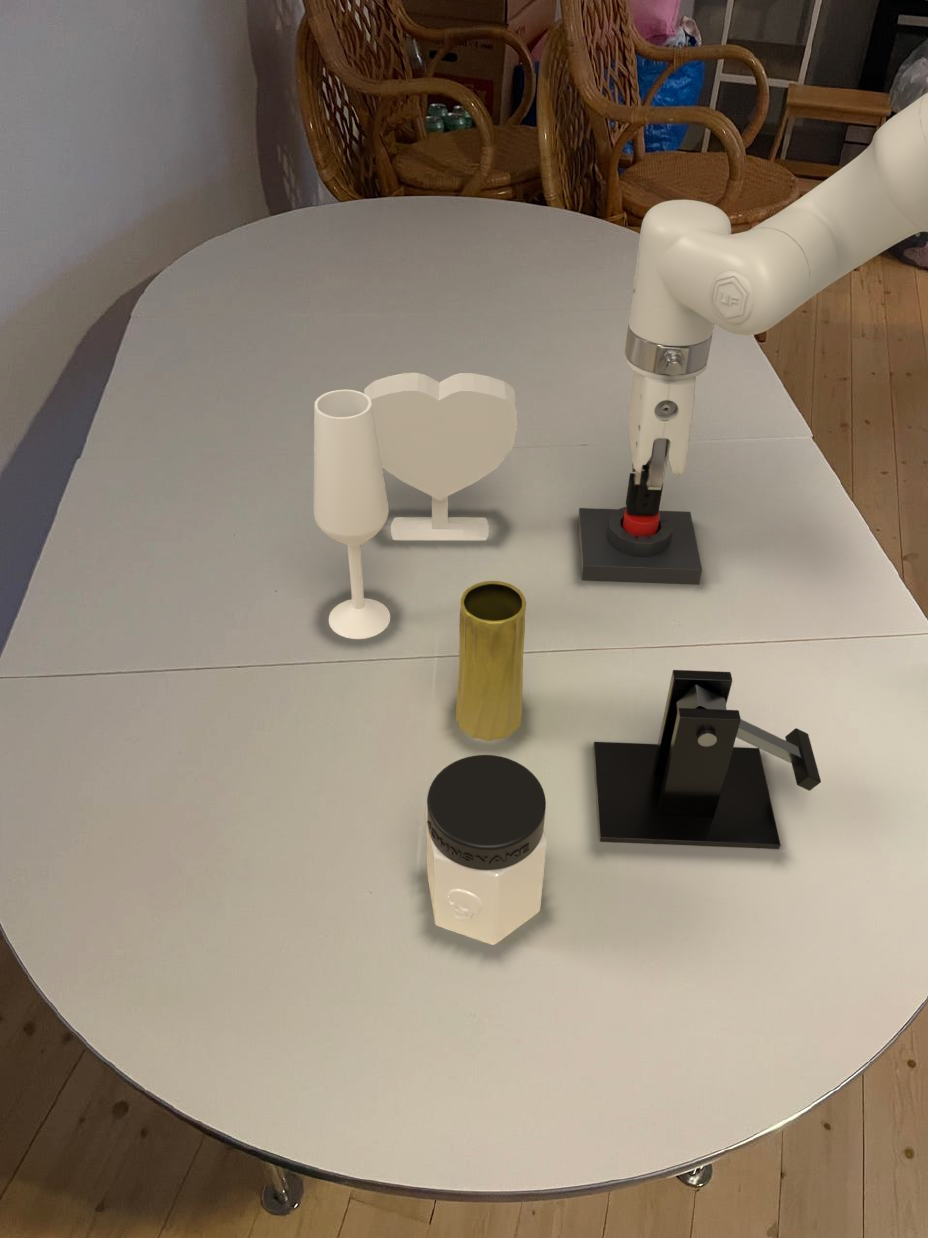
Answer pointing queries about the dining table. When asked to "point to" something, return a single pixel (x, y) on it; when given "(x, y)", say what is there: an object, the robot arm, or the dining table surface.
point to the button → (641, 524)
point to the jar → (485, 846)
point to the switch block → (637, 549)
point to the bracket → (686, 779)
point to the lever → (764, 738)
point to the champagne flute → (350, 498)
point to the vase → (491, 660)
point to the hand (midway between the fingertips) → (641, 510)
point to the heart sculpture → (442, 442)
